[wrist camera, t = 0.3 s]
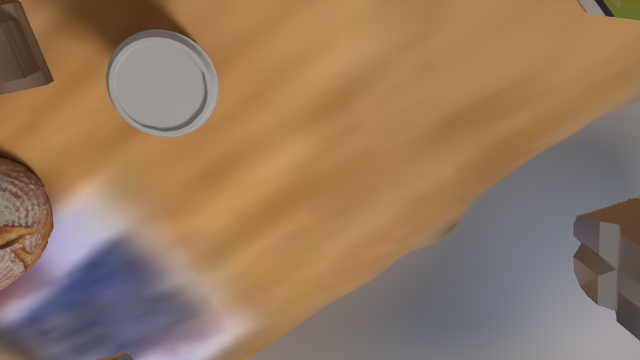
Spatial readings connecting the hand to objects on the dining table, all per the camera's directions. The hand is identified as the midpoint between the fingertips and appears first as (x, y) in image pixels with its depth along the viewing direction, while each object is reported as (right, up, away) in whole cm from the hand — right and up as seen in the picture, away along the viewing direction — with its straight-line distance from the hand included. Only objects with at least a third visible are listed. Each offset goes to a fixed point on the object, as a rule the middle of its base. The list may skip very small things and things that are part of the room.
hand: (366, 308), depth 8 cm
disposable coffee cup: (-16, +15, +43) cm, 49 cm away
